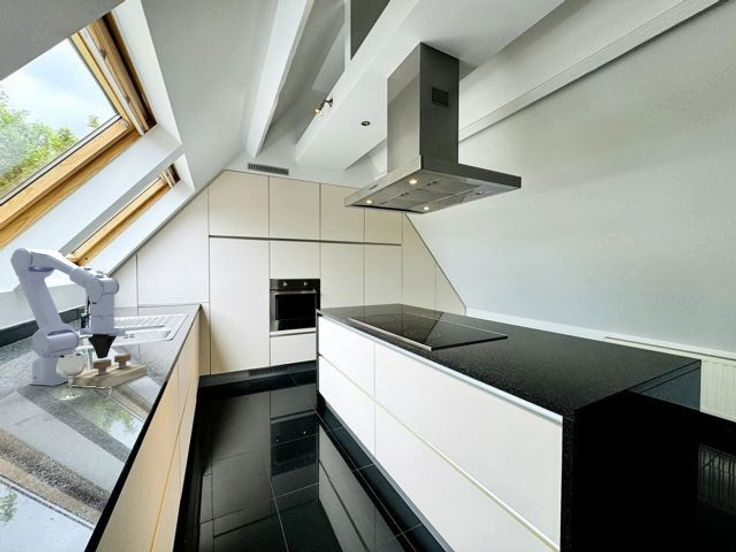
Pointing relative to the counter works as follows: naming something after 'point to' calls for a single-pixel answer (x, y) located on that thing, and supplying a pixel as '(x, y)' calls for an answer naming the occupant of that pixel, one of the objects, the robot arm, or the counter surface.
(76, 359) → the wineglass
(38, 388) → the counter surface
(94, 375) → the knob panel
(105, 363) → the knob
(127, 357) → the knob
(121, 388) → the counter surface
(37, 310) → the robot arm
